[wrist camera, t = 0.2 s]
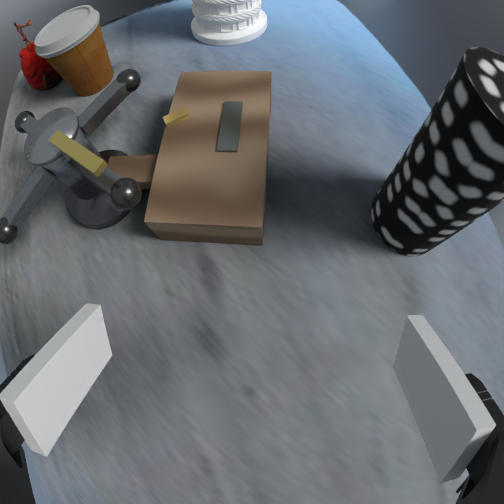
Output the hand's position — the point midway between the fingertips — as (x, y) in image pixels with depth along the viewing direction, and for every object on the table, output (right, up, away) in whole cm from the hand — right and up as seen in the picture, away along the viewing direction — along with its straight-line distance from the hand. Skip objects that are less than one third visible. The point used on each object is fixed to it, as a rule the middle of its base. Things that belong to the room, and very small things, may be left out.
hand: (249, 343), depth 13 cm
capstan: (-17, +11, +21) cm, 29 cm away
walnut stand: (-6, +13, +21) cm, 26 cm away
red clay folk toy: (-33, +32, +27) cm, 54 cm away
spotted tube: (+16, +7, +18) cm, 26 cm away
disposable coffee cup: (-23, +29, +26) cm, 45 cm away
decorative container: (-3, +38, +28) cm, 48 cm away
